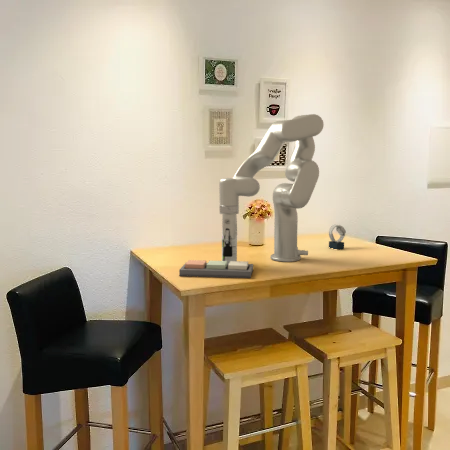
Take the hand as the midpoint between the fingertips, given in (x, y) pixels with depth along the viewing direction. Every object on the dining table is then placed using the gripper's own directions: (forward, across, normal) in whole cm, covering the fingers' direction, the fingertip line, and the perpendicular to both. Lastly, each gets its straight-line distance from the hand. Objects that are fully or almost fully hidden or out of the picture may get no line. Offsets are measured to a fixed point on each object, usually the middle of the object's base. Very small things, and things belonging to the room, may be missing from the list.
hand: (229, 254), depth 197 cm
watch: (+5, +38, -45) cm, 59 cm away
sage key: (+2, -13, +3) cm, 14 cm away
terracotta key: (+2, -13, +11) cm, 17 cm away
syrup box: (+5, 0, 0) cm, 5 cm away
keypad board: (+4, -13, +3) cm, 14 cm away
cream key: (+2, -13, -5) cm, 14 cm away
